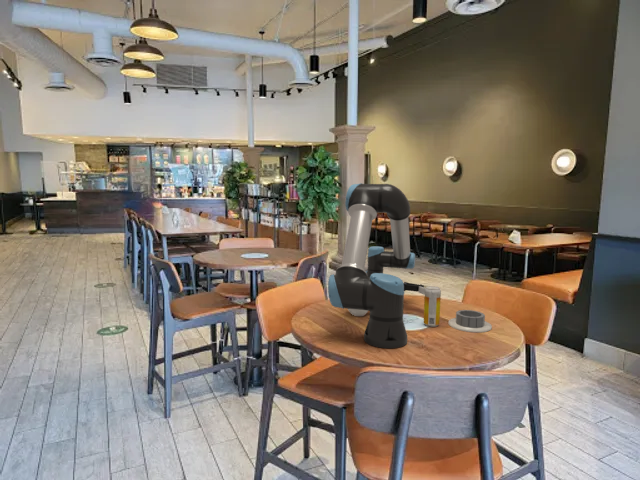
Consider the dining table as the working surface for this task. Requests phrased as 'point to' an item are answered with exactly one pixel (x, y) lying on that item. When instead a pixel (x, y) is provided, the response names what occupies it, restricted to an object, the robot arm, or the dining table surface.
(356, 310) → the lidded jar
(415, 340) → the dining table surface
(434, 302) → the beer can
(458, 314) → the collar stand
